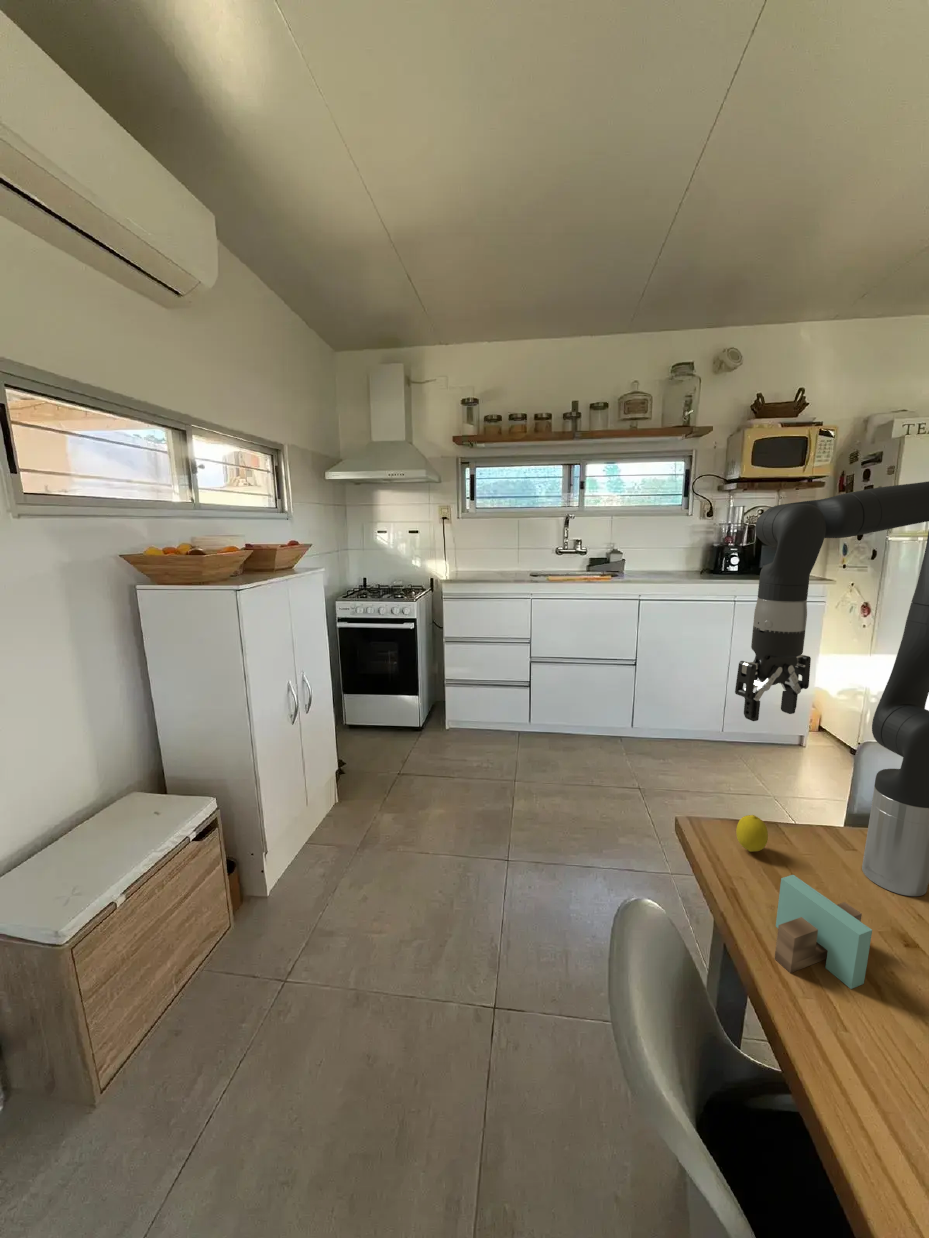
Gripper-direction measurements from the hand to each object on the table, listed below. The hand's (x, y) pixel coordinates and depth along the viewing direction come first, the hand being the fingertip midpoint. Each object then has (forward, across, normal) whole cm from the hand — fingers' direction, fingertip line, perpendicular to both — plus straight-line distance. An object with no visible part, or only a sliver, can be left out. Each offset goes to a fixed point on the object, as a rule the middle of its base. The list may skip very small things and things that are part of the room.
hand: (769, 715), depth 87 cm
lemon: (+33, -6, -6) cm, 34 cm away
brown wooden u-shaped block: (+32, +5, +16) cm, 36 cm away
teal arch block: (+32, +5, +16) cm, 36 cm away
